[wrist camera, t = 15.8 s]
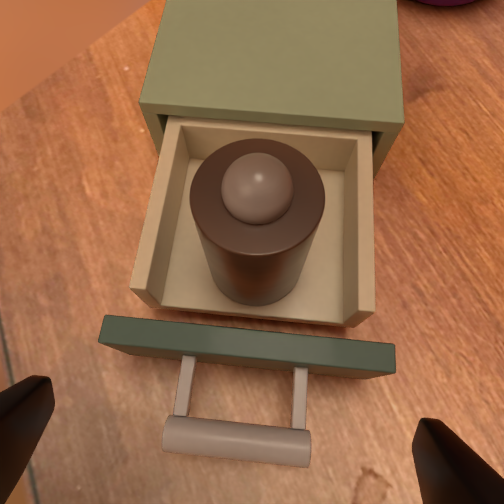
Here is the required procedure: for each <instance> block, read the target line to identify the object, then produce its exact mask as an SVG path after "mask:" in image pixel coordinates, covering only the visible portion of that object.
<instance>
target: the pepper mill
mask: <svg viewBox="0 0 504 504" xmlns="http://www.w3.org/2000/svg"><path fill="white" fill-rule="evenodd" d="M189 202H190V209H191V213H192V216H193V219H194V222H195V226H196V229H197V232H198V235H199V238H200V241H201V244H202V247H203V250H204V253H205V257H206V260H207V263H208V266H209V269H210V272H211V275H212V278H213V280H214V282H215V284H216V286H217V287H218V288H219V290H220V291H221V292H222V293H223V294H224V295H225V296H227V297H228V298H230V299H231V300H233V301H235V302H237V303H240V304H243V305H248V306H265V305H269V304H272V303H275V302H277V301H279V300H281V299H282V298H284V297H285V296H286V295H287V294H288V293H290V292H291V290H292V289H293V288H294V287H295V285H296V283H297V282H298V279H299V277H300V274H301V272H302V269H303V266H304V264H305V261H306V258H307V256H308V253H309V250H310V248H311V245H312V242H313V240H314V237H315V234H316V232H317V229H318V226H319V224H320V221H321V218H322V216H323V212H324V208H325V189H324V185H323V182H322V179H321V176H320V174H319V173H318V171H317V169H316V168H315V166H314V165H313V163H312V162H311V161H310V160H309V159H308V158H307V157H306V156H305V155H304V154H302V153H301V152H300V151H298V150H297V149H295V148H293V147H291V146H289V145H287V144H285V143H282V142H279V141H275V140H271V139H263V138H252V139H244V140H239V141H235V142H232V143H229V144H227V145H225V146H223V147H221V148H219V149H218V150H216V151H215V152H213V153H212V154H211V155H209V156H208V157H207V158H206V159H205V160H204V161H203V163H202V164H201V165H200V167H199V168H198V170H197V172H196V173H195V175H194V178H193V180H192V183H191V187H190V194H189Z"/></svg>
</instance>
